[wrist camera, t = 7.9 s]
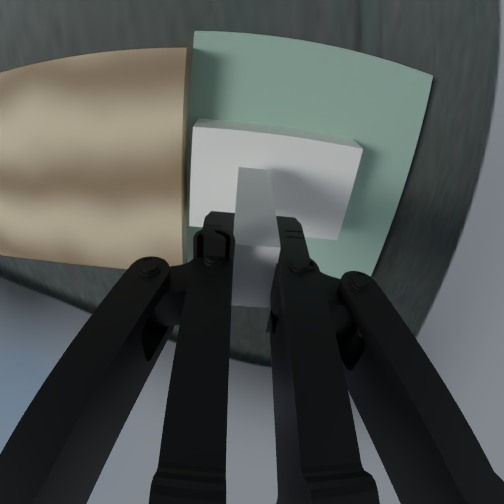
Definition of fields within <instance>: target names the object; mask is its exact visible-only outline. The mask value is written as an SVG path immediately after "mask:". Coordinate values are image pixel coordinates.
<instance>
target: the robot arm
mask: <svg viewBox="0 0 504 504" xmlns="http://www.w3.org/2000/svg"><path fill="white" fill-rule="evenodd" d="M270 299H271V311H270V316H269V321H268V325H267V330H266V332H269V330H270V344H271V361H272V379H273V398H274V415H275V436H276V457H277V481H278V499H277V503H276V504H380V503H379V496H378V490H377V486H376V482H375V480H374V479H373V477H372V475H371V474H369V473H368V472H366V471H364V469H363V467H362V464H361V460H360V453H359V447H358V442H357V437H356V431H355V425H354V420H353V415H352V409H351V404H350V399H349V394H348V391H349V393H350V395H351V397H352V399H353V401H354V403H355V405H356V407H357V410H358V412H359V414H360V416H361V418H362V420H363V422H364V424H365V426H366V429H367V431H368V433H369V435H370V437H371V439H372V441H373V444H374V445H375V448H376V450H377V452H378V454H379V457H380V458H381V461H382V463H383V465H384V467H385V470H386V472H387V474H388V476H389V478H390V481H391V483H392V485H393V487H394V490H395V491H396V494H397V496H398V498H399V501H400V503H401V504H504V481H503V480H502V479H501V478H500V477H499V476H498V475H497V474H496V473H495V472H494V471H493V469H492V467H491V465H490V463H489V461H488V459H487V457H486V455H485V454H484V452H483V450H482V448H481V446H480V444H479V442H478V440H477V439H476V437H475V435H474V433H473V431H472V429H471V428H470V426H469V424H468V422H467V421H466V419H465V417H464V415H463V414H462V412H461V410H460V408H459V407H458V405H457V403H456V402H455V400H454V399H453V397H452V395H451V393H450V392H449V390H448V389H447V387H446V385H445V383H444V382H443V380H442V379H441V377H440V376H439V374H438V372H437V371H436V369H435V368H434V366H433V364H432V363H431V362H430V360H429V358H428V357H427V355H426V354H425V352H424V351H423V349H422V347H421V346H420V344H419V343H418V342H417V340H416V338H415V337H414V335H413V334H412V333H411V331H410V330H409V328H408V327H407V325H406V324H405V322H404V321H403V319H402V318H401V316H400V315H399V314H398V312H397V311H396V309H395V308H394V307H393V305H392V304H391V302H390V301H389V299H388V298H387V297H386V295H385V294H384V293H383V291H382V290H381V288H380V287H379V286H378V284H377V283H376V282H375V281H374V280H373V279H372V278H371V277H370V276H369V275H367V274H365V273H362V272H359V271H349V272H345V273H344V274H343V275H342V277H341V279H339V278H335V277H332V276H329V275H326V274H324V273H322V272H320V270H319V267H318V265H317V263H316V262H315V261H313V260H312V259H311V258H310V256H309V252H308V248H307V244H306V240H305V236H304V233H303V229H302V225H301V223H300V222H299V221H298V220H297V219H296V218H294V217H284V216H276V212H275V205H274V199H273V192H272V186H271V179H270V173H269V170H264V169H254V168H243V167H239V168H238V179H237V189H236V200H235V211H234V213H230V212H217V211H211V212H210V213H209V214H208V215H206V216H205V219H204V223H203V228H202V229H201V230H199V231H198V232H196V233H195V235H194V237H193V259H192V260H191V261H189V262H187V263H185V264H181V265H176V266H169V264H168V263H167V262H166V261H165V260H164V259H162V258H160V257H154V256H149V257H143V258H140V259H138V260H136V261H135V262H134V263H132V264H131V266H130V267H129V268H128V269H127V271H126V272H125V273H124V274H123V275H122V277H121V278H120V279H119V280H118V282H117V283H116V284H115V286H114V287H113V288H112V289H111V291H110V292H109V293H108V294H107V296H106V297H105V298H104V300H103V301H102V302H101V303H100V305H99V306H98V307H97V309H96V310H95V311H94V313H93V314H92V315H91V317H90V318H89V319H88V321H87V322H86V323H85V325H84V326H83V328H82V329H81V330H80V332H79V333H78V334H77V336H76V337H75V339H74V340H73V341H72V343H71V344H70V345H69V347H68V348H67V350H66V351H65V352H64V354H63V356H62V357H61V359H60V360H59V361H58V363H57V364H56V366H55V367H54V368H53V370H52V372H51V373H50V374H49V376H48V377H47V379H46V380H45V382H44V383H43V385H42V386H41V388H40V389H39V391H38V393H37V394H36V396H35V397H34V399H33V401H32V402H31V403H30V405H29V407H28V408H27V410H26V411H25V413H24V415H23V416H22V418H21V420H20V421H19V423H18V425H17V426H16V428H15V430H14V431H13V433H12V435H11V436H10V438H9V440H8V442H7V443H6V445H5V447H4V449H3V451H2V452H1V454H0V504H86V503H87V501H88V499H89V497H90V494H91V493H92V490H93V488H94V486H95V484H96V482H97V480H98V478H99V475H100V473H101V471H102V469H103V467H104V465H105V463H106V461H107V459H108V457H109V455H110V452H111V450H112V448H113V446H114V444H115V442H116V440H117V438H118V436H119V434H120V432H121V430H122V428H123V426H124V423H125V422H126V420H127V418H128V416H129V414H130V411H131V410H132V408H133V406H134V404H135V402H136V400H137V398H138V396H139V394H140V392H141V390H142V388H143V386H144V384H145V382H146V380H147V378H148V376H149V374H150V373H151V371H152V369H153V367H154V365H155V363H156V361H157V359H158V357H159V355H160V353H161V351H162V350H163V348H164V345H165V344H166V342H167V340H168V338H169V336H170V334H171V332H172V331H173V328H174V325H179V324H180V327H179V332H178V338H177V343H176V349H175V355H174V360H173V366H172V373H171V379H170V385H169V391H168V398H167V404H166V411H165V418H164V425H163V433H162V441H161V448H160V456H159V464H158V468H157V472H156V473H155V475H154V477H153V480H152V483H151V489H150V498H149V504H226V437H227V404H228V375H229V373H228V372H229V349H230V325H231V305H236V306H250V307H265V308H269V304H270Z"/></svg>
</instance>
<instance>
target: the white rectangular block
mask: <svg viewBox="0 0 504 504" xmlns="http://www.w3.org/2000/svg"><path fill="white" fill-rule="evenodd" d="M362 151H363V148H362V147H361V146H360V145H359V144H358V143H357V142H356V141H355V140H354V139H353V138H348V137H343V136H337V135H332V134H326V133H321V132H315V131H309V130H302V129H296V128H289V127H282V126H274V125H266V124H258V123H249V122H239V121H228V120H216V119H201V118H198V120H197V121H196V123H195V124H194V126H193V134H192V153H191V177H190V211H189V226H193V227H203V223H204V219H205V216H206V215H208V214H209V213H210V212H211V211H217V212H230V213H234V211H235V200H236V189H237V179H238V168H239V167H243V168H254V169H264V170H269V173H270V179H271V186H272V192H273V199H274V205H275V212H276V216H284V217H294V218H296V219H297V220H298V221H299V222H300V223H301V225H302V229H303V233H304V236H305V237H310V238H320V239H329V240H337V239H338V236H339V233H340V229H341V226H342V223H343V219H344V216H345V213H346V209H347V206H348V203H349V199H350V196H351V192H352V189H353V185H354V181H355V178H356V174H357V170H358V167H359V163H360V159H361V155H362Z"/></svg>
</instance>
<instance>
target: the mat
mask: <svg viewBox="0 0 504 504" xmlns="http://www.w3.org/2000/svg"><path fill="white" fill-rule="evenodd" d="M432 79H433V76H432V75H429V74H427V73H424V72H421V71H419V70H416V69H413V68H410V67H407V66H404V65H401V64H398V63H395V62H392V61H388V60H385V59H382V58H378V57H375V56H371V55H367V54H364V53H360V52H356V51H352V50H347V49H343V48H339V47H334V46H329V45H325V44H320V43H314V42H309V41H303V40H297V39H290V38H283V37H276V36H268V35H258V34H248V33H235V32H217V31H195V32H194V44H193V56H192V69H191V84H190V101H189V122H188V151H187V262H189V261H191V260H192V259H193V237H194V235H195V233H196V232H198V231H199V230H201V229H202V228H203V227H193V226H189V211H190V177H191V153H192V134H193V126H194V124H195V123H196V121H197V120H198V118H201V119H216V120H228V121H239V122H249V123H258V124H266V125H274V126H282V127H289V128H296V129H302V130H309V131H315V132H321V133H326V134H332V135H337V136H343V137H348V138H353V139H354V140H355V141H356V142H357V143H358V144H359V145H360V146H361V147H362V148H363V151H362V155H361V159H360V163H359V167H358V170H357V174H356V178H355V181H354V185H353V189H352V192H351V196H350V199H349V203H348V206H347V209H346V213H345V216H344V219H343V223H342V226H341V229H340V233H339V236H338V239H337V240H329V239H320V238H310V237H305V240H306V244H307V248H308V252H309V256H310V258H311V259H312V260H313V261H315V262H316V263H317V265H318V267H319V270H320V272H322V273H324V274H326V275H329V276H332V277H335V278H339V279H341V277H342V275H343V274H344V273H345V272H349V271H359V272H362V273H365V274H367V275H369V276H370V277H371V275H372V273H373V270H374V268H375V265H376V263H377V260H378V258H379V255H380V253H381V250H382V247H383V245H384V242H385V240H386V237H387V234H388V232H389V229H390V226H391V223H392V220H393V218H394V215H395V212H396V209H397V206H398V203H399V200H400V197H401V194H402V191H403V188H404V185H405V182H406V179H407V176H408V172H409V169H410V166H411V162H412V159H413V156H414V152H415V148H416V145H417V141H418V138H419V134H420V130H421V126H422V122H423V118H424V114H425V110H426V106H427V102H428V97H429V93H430V88H431V83H432Z"/></svg>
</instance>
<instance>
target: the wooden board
mask: <svg viewBox="0 0 504 504" xmlns="http://www.w3.org/2000/svg"><path fill="white" fill-rule="evenodd" d="M192 56H193V48H149V49H132V50H120V51H110V52H101V53H93V54H85V55H79V56H72V57H67V58H61V59H56V60H50V61H46V62H41V63H36V64H32V65H28V66H24V67H20V68H16V69H12V70H8V71H5V72H1V73H0V255H5V256H13V257H21V258H29V259H37V260H46V261H55V262H64V263H73V264H82V265H91V266H101V267H111V268H121V269H128V268H129V267H130V266H131V264H132V263H134V262H135V261H136V260H138V259H140V258H143V257H149V256H154V257H160V258H162V259H164V260H165V261H166V262H167V263H168V264H169V266H176V265H181V264H185V263H186V260H187V151H188V122H189V101H190V84H191V69H192Z"/></svg>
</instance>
